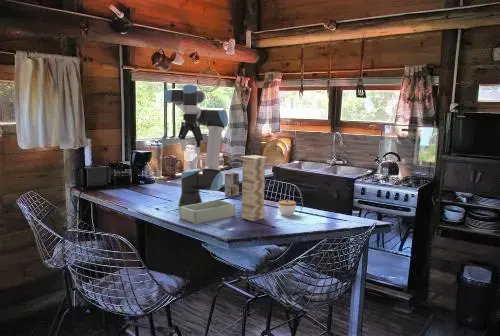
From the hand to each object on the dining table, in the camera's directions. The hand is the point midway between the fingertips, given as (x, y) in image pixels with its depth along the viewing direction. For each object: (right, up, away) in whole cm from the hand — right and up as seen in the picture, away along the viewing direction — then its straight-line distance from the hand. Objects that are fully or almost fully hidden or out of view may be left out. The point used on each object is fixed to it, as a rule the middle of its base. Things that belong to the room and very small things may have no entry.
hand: (190, 152), depth 228 cm
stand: (+35, -38, +13) cm, 53 cm away
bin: (+8, -37, +13) cm, 40 cm away
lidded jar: (+55, -37, +22) cm, 70 cm away
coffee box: (+19, -29, +76) cm, 84 cm away
